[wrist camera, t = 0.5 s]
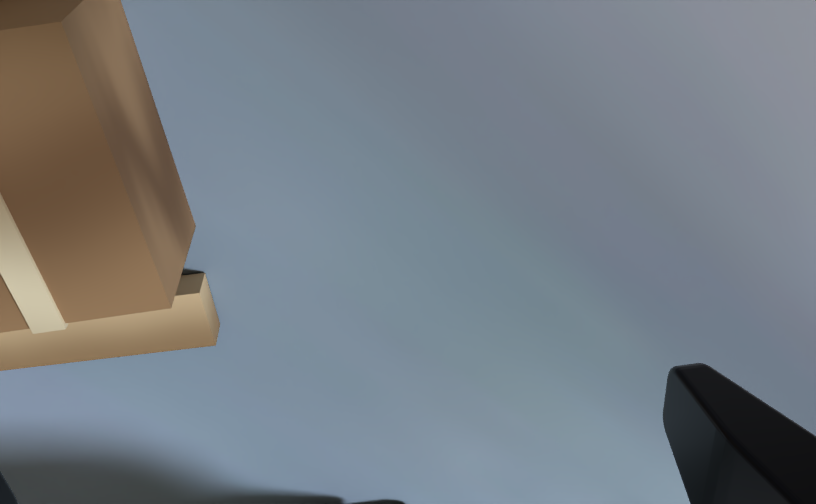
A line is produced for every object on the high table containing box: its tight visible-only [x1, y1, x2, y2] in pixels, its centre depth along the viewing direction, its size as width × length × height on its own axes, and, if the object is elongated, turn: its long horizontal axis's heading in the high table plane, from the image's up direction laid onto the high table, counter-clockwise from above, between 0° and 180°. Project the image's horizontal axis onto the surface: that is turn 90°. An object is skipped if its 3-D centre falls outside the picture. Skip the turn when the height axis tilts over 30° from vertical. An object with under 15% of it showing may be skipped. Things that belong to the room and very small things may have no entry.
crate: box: [0, 0, 196, 334], centre depth 17 cm, size 7×6×4 cm
